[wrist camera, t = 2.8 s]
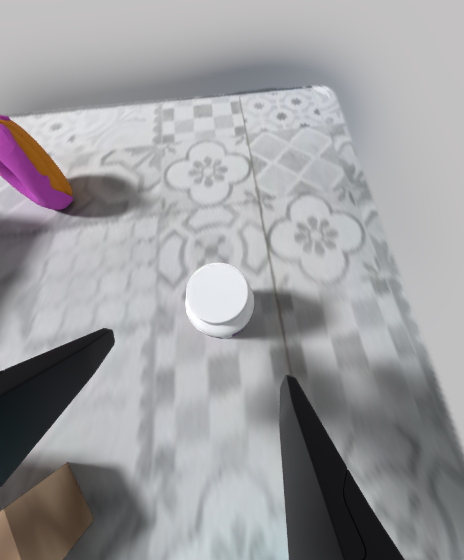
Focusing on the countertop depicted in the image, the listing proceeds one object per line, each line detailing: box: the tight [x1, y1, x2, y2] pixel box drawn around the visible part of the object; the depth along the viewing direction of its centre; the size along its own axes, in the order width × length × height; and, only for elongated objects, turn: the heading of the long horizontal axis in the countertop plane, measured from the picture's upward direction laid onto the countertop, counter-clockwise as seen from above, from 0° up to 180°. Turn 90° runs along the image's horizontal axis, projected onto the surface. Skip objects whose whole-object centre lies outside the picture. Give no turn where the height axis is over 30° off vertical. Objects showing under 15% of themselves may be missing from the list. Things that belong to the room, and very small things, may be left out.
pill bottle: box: [185, 263, 254, 339], centre depth 16 cm, size 5×5×10 cm
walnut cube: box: [0, 462, 94, 560], centre depth 13 cm, size 5×5×5 cm
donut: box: [0, 115, 73, 210], centre depth 21 cm, size 8×9×10 cm
